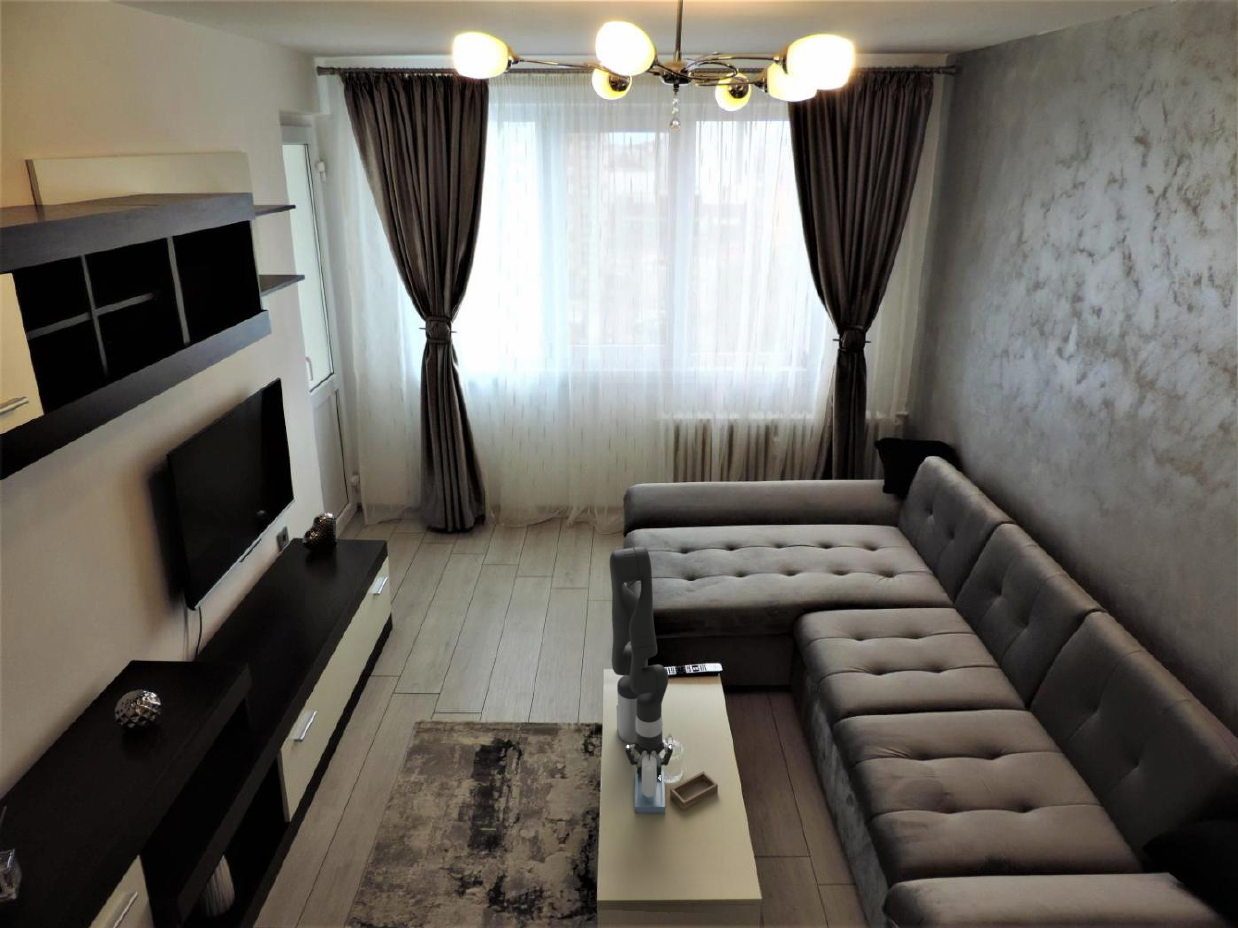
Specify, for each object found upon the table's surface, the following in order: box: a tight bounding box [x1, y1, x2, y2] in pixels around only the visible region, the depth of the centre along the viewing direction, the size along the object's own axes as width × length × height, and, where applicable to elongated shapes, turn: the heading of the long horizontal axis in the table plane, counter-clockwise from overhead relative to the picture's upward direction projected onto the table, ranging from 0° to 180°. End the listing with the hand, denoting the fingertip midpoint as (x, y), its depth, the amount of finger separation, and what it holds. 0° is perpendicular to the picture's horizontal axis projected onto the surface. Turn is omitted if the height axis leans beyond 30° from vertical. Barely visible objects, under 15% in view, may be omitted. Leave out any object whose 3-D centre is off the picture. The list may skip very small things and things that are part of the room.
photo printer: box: [642, 754, 657, 797], centre depth 249 cm, size 10×4×12 cm, turn 178°
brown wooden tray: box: [669, 770, 719, 812], centre depth 253 cm, size 7×12×3 cm, turn 124°
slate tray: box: [634, 770, 666, 815], centre depth 253 cm, size 14×9×2 cm, turn 179°
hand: (649, 774), depth 250 cm, fingers closed on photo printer, 4 cm apart
